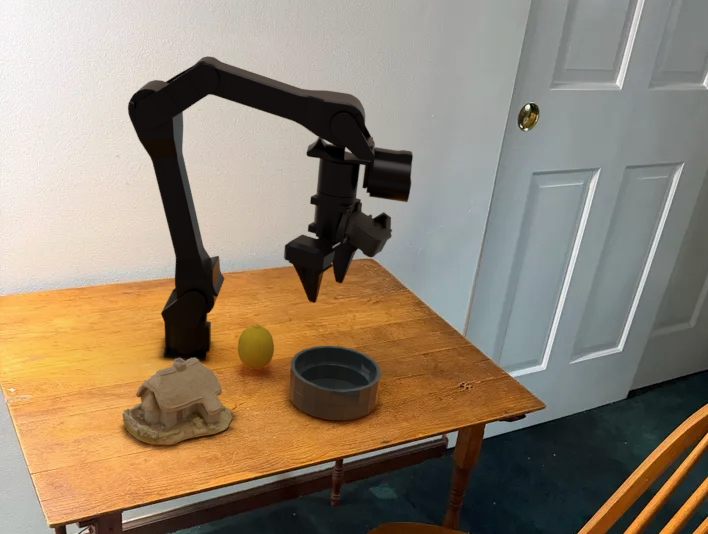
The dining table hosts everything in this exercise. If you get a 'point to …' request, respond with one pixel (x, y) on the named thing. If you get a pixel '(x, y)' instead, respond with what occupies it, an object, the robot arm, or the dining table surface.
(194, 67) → the robot arm
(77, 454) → the dining table surface
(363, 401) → the grey pet bowl
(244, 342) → the lemon
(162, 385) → the ceramic model
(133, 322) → the dining table surface
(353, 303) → the dining table surface
